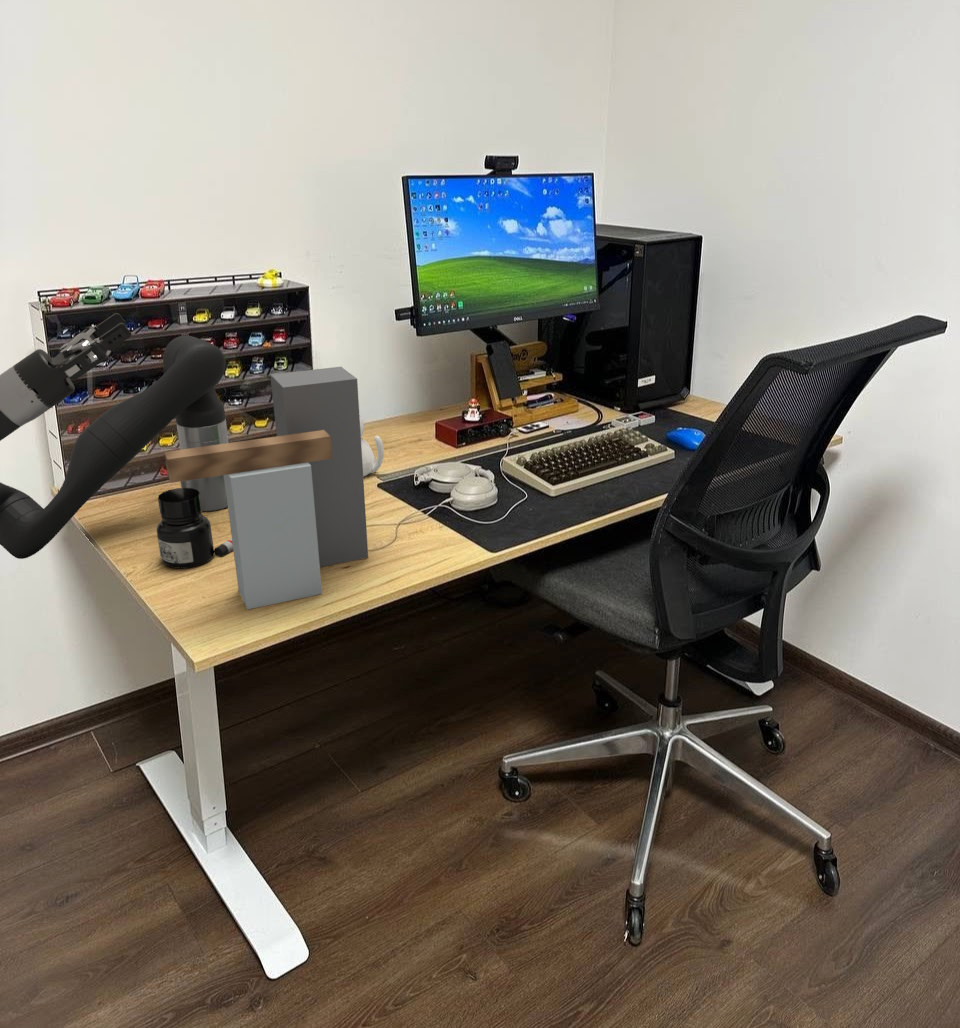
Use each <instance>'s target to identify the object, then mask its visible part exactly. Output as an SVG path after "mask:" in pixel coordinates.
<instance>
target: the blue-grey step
mask: <svg viewBox="0 0 960 1028" xmlns="http://www.w3.org/2000/svg"><path fill="white" fill-rule="evenodd" d="M224 481H225V488H226V496H227V504H228V507H227V509H228V511H227V512H228V518H229V526H230V533H231V538H232V543H233V556H234V565H235V573H236V581H237V588H238V593H239V594H240V596H241V599H242V602H243V603H244V606H245V609H246V610H252V609H256V608H262V607H265V606H271V605H275V604H280V603H285V602H290V601H294V600H298V599H305V598H308V597H309V598H310V597H313V596H318V595H322V594H323V589H322V577H321V567H320V564H319V552H318V541H317V529H316V518H315V506H314V495H313V483H312V471H311V465H310V464H309V463H308V462H306V463H300V464H293V465H286V466H280V467H273V468H267V469H260V470H253V471H247V472H240V473H233V474H227V475H224Z"/></svg>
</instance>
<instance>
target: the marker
mask: <svg viewBox="0 0 960 1028" xmlns="http://www.w3.org/2000/svg"><path fill="white" fill-rule="evenodd" d="M232 551H233V543H232V537H231V538H230V539H228V540H226V541H224V542H222V543H221V544H220V545H218V546H216V547H215V548H214V555H215V557H223V556H225V555H227V554H229V553H231V552H232ZM233 552H234V551H233Z"/></svg>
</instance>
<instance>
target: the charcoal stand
mask: <svg viewBox="0 0 960 1028" xmlns="http://www.w3.org/2000/svg"><path fill="white" fill-rule="evenodd" d="M270 384H271V393H272V394H271V395H272V402H273V403H272V404H273V412H274V413H273V414H274V425H275V433H276V436H284V435H291V434H298V433H305V432H313V431H320V430H325V431H326V432H327V433H328V434H329V436H330V437H331V451H332V459H326V460H319V461H313V462H308V463H309V464H310V465H311V471H312V483H313V495H314V506H315V518H316V529H317V541H318V552H319V564H320V568H321V567H322V568H323V567H326V566H328V567H329V566H333V565H337V564H342V563H346V562H352V561H359V560H362V559H367V558H369V550H368V548H369V547H368V532H367V531H368V530H367V518H366V517H367V515H366V503H365V502H366V501H365V500H366V499H365V498H366V497H365V485H364V484H365V483H364V481H365V480H364V477H363V464H362V448H361V438H362V437H361V432H360V416H361V415H360V403H359V387H358V378H357V377H356V376H354V375H353V374H352V373H350V372H349V371H348V370H347V369H345V368H343V367H342V366H334V367H333V366H332V367H326V368H316V369H308V370H298V371H289V372H288V371H287V372H281V373H271V374H270ZM359 415H360V416H359Z"/></svg>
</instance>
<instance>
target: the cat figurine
mask: <svg viewBox="0 0 960 1028" xmlns="http://www.w3.org/2000/svg"><path fill="white" fill-rule="evenodd" d="M359 416H360V432H361V448H362V464H363V478H365V477H366V476H368V475H369V474H373V473H376V472H378V470H380V467H381V465H382V464H383V459H384V455H385V450H384V449H385V447H384V443H383V440H382V439H381V437H380V436H379V435H375V436H374V442H375V446H376V453H377V454H376V457H375V455H374V452H373V450H372V447H371V446H370V445H369V443H368V442H367V441H366V440H365V439H364V438H362V437H363V436H364V433H365V424H364V420H363V418H362V416H361V414H359Z"/></svg>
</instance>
